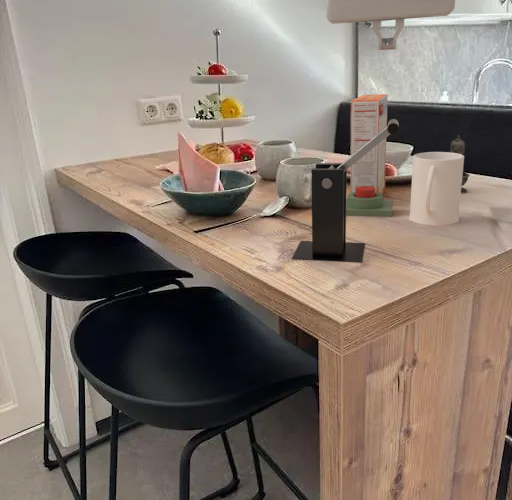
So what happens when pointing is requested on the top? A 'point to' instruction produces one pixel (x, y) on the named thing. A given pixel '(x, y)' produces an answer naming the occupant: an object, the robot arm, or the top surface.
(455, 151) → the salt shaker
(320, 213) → the lever bracket
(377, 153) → the cracker box
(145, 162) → the top surface
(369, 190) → the button
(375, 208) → the button block
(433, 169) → the mug
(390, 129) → the press lever
